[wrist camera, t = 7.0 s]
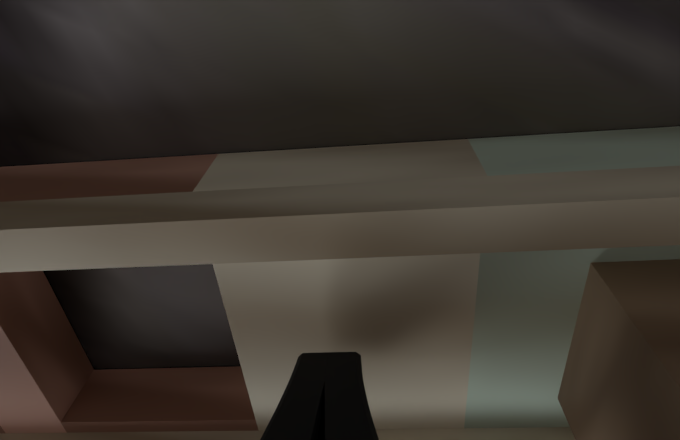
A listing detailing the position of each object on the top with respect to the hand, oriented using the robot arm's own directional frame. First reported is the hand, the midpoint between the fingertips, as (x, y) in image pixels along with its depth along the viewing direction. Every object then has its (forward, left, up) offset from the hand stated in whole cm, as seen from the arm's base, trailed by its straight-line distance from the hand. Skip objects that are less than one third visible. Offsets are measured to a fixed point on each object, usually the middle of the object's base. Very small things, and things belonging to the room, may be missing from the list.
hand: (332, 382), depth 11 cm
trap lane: (0, +3, -3) cm, 4 cm away
